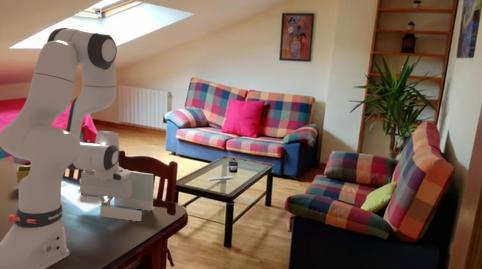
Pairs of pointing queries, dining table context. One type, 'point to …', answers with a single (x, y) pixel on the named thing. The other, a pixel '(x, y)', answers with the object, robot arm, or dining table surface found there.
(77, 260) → the dining table surface
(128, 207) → the blue-grey rectangular bar
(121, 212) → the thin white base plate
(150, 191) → the lid
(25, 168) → the flower pot
